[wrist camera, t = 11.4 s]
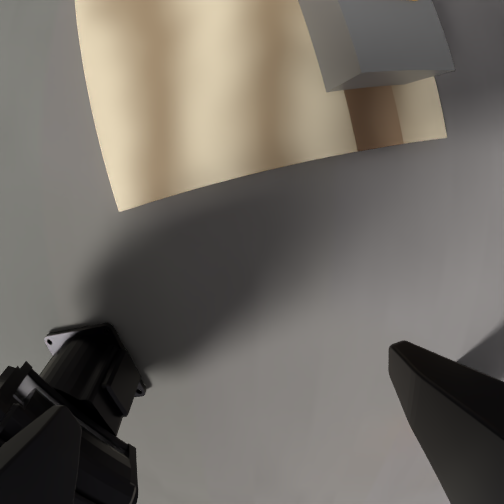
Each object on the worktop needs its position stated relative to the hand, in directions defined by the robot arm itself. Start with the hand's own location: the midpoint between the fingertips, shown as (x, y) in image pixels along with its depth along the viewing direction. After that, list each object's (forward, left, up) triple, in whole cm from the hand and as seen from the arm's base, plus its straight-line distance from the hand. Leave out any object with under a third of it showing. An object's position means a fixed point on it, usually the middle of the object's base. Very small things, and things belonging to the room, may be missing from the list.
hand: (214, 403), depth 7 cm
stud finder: (+10, +12, -11) cm, 19 cm away
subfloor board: (+5, +12, -12) cm, 18 cm away
